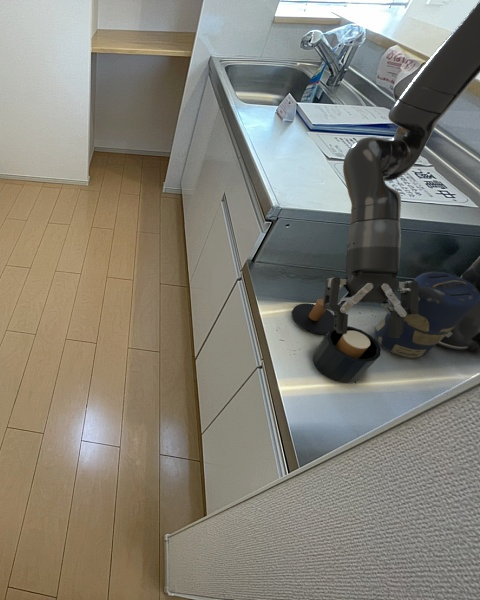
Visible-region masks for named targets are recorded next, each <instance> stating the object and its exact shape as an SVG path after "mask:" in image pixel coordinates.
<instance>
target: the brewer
mask: <svg viewBox="0 0 480 600" xmlns="http://www.w3.org/2000/svg"><path fill="white" fill-rule="evenodd" d="M347 331H357V332H360V333H362V334H364V335H365V336H366V337H367V338H368V339H369V340H370V346H369V347H368V348H367V349H366V351H365V352H364V353H363V354H362V355H361V357H360V358H354V357H351V356H349V355H346V354H345V353H343V352H341V351H340V350H338V349H337V347H336V346H335V345H336V344H337V342H338V341H339V340H340V338H341V337H342V335H343V334H340V333H337V332H336V330H334V327H333V328H332V329H330V330H329V331H328V333H327V334H325V336H324V337H323V338H322V340H321V342H320V343H319V345H318V346H317V347H316V349H315V350H314V352H313V355H312V364H313V366H314V367H315V369H316V370H317V371H318V372H319V373H321V374H322V375H323V376H324V377H326V378H327V379H329V380H332V381H334V382H337V383H342V384H353V383H355V382H357V381H359V379H360V378H362V377H363V375H364V374H365V373H366V372H367V371H368V370H369V369H370V368H371V367H372V366H373V365H374V364H375V362H377V360H378V359H379V358H380V357H381V353H382V348H381V346H380V343H379V342H378V340H377V339H375V338H374V337H373V336H372V335H371V334H369V333H367V332H366V331H364V330H362V329H359V328H357V327H354V326H349V325H347Z"/></svg>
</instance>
